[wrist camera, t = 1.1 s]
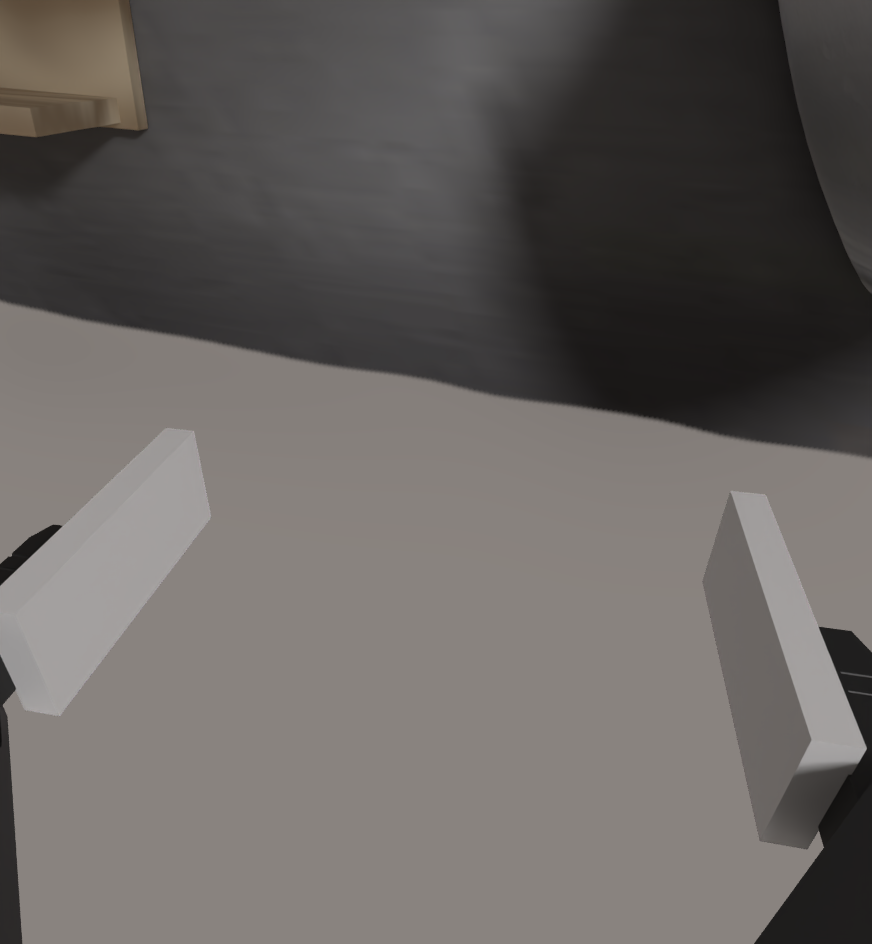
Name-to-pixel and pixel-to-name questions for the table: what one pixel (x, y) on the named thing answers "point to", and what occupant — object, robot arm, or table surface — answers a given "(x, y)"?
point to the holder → (68, 67)
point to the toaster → (837, 110)
